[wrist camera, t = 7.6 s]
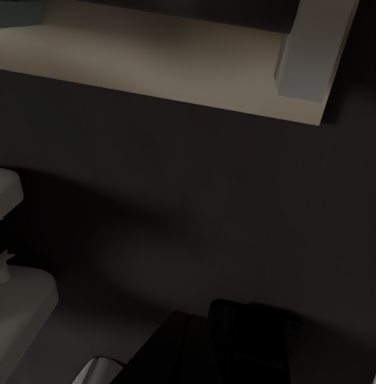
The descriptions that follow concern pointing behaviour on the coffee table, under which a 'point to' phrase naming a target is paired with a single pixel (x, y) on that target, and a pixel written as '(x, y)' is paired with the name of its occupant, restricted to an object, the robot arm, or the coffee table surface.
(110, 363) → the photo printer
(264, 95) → the cord board
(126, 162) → the coffee table surface
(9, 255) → the cable organizer
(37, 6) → the marker sleeve
